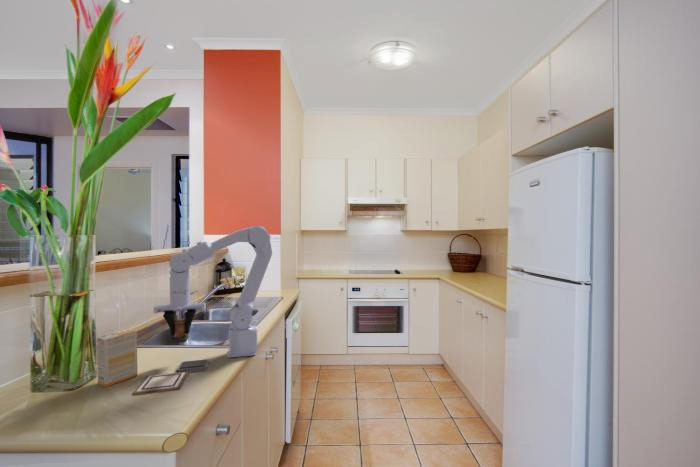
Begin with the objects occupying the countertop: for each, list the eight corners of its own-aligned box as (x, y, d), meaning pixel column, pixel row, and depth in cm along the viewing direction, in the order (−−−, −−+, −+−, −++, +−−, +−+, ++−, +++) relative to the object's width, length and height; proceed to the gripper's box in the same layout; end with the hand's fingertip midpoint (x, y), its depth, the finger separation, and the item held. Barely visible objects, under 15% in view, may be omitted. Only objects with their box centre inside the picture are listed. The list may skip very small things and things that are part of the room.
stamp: (188, 338, 104) (188, 318, 104) (185, 342, 100) (185, 321, 100) (174, 338, 103) (175, 318, 103) (171, 342, 99) (171, 322, 99)
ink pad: (209, 362, 102) (209, 358, 102) (205, 370, 96) (205, 365, 96) (181, 365, 100) (181, 361, 100) (176, 373, 94) (176, 368, 94)
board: (188, 373, 94) (188, 370, 94) (179, 389, 85) (179, 386, 85) (146, 377, 92) (146, 375, 92) (132, 395, 82) (132, 392, 82)
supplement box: (129, 372, 95) (129, 328, 95) (138, 375, 93) (137, 330, 93) (96, 383, 88) (96, 336, 88) (105, 387, 86) (104, 339, 86)
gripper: (149, 294, 96) (150, 340, 96) (202, 292, 100) (202, 335, 100) (157, 290, 103) (158, 332, 103) (206, 288, 106) (207, 329, 107)
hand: (180, 333), depth 102 cm, fingers closed on stamp, 3 cm apart
